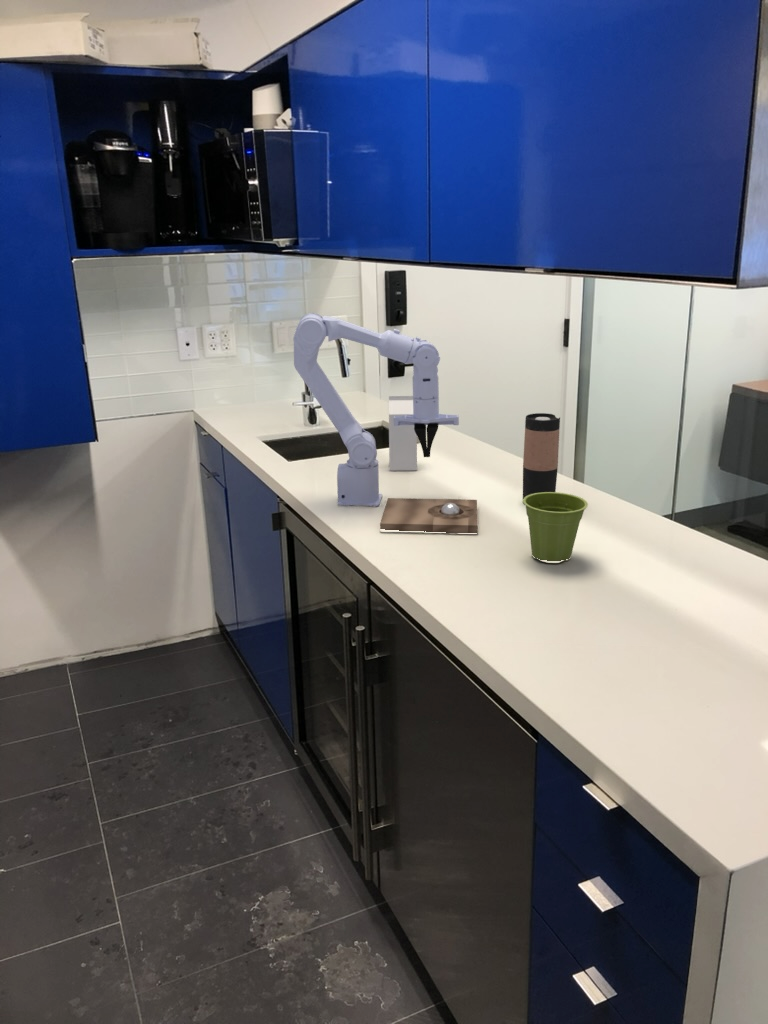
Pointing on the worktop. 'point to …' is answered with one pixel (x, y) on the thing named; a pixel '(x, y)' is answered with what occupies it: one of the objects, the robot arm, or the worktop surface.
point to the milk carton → (401, 436)
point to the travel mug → (540, 453)
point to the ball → (450, 509)
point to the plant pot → (553, 523)
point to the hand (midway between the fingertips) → (426, 456)
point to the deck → (429, 515)
